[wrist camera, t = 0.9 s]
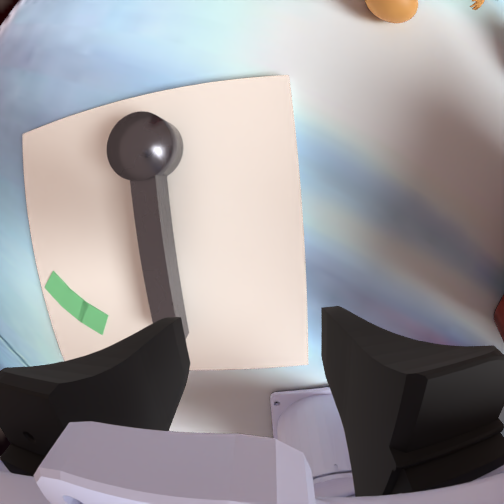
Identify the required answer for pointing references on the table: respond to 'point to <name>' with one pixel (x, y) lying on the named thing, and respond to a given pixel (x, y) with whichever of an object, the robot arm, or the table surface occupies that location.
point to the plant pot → (500, 317)
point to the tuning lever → (151, 203)
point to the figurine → (399, 9)
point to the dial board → (178, 226)
